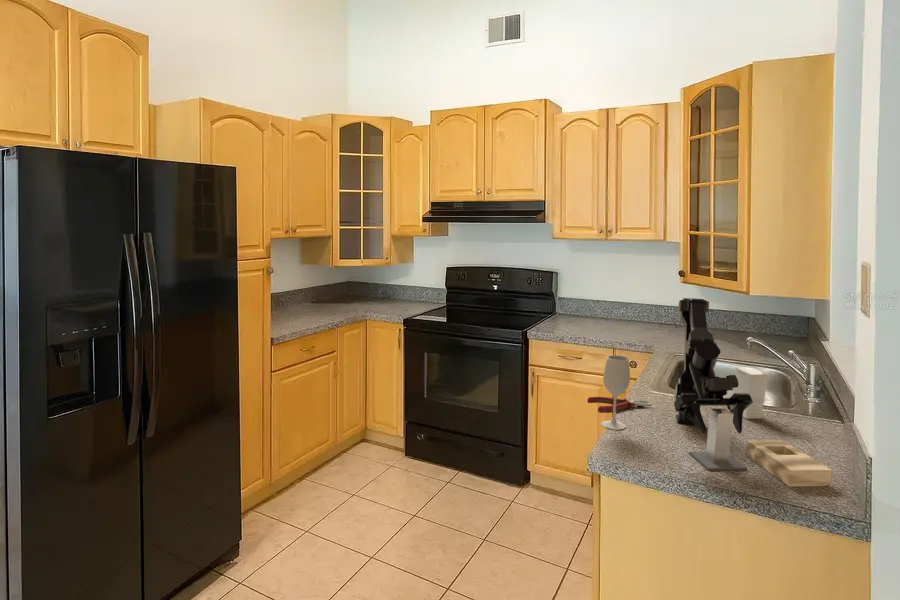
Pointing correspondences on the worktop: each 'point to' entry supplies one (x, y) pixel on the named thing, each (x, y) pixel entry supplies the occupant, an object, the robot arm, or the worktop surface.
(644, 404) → the pliers
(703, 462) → the rubber mat
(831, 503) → the worktop surface
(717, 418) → the steel bar
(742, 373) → the skincare box
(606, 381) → the wineglass
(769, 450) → the wooden block with hole
